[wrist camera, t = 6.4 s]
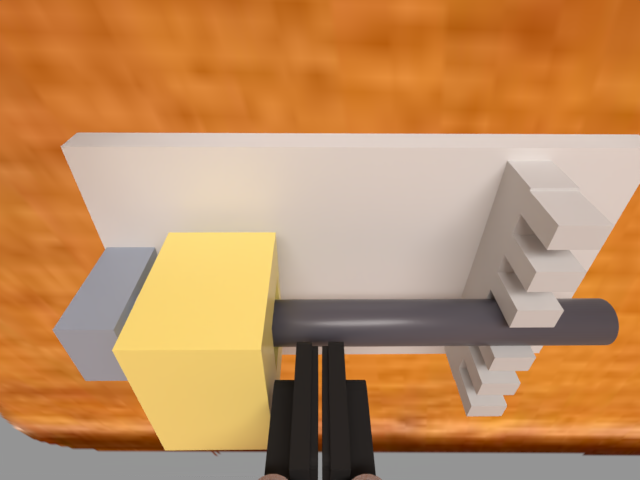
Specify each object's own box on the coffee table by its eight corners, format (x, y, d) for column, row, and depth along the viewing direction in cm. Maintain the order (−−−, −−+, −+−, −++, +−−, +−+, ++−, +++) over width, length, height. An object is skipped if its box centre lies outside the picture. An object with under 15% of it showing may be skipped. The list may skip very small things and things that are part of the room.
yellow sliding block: (275, 232, 15) (260, 349, 11) (283, 333, 18) (274, 449, 14) (168, 232, 15) (111, 350, 10) (198, 334, 18) (164, 450, 14)
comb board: (638, 134, 15) (773, 218, 10) (529, 335, 22) (581, 432, 18) (77, 132, 14) (-25, 218, 10) (158, 336, 22) (119, 436, 17)
